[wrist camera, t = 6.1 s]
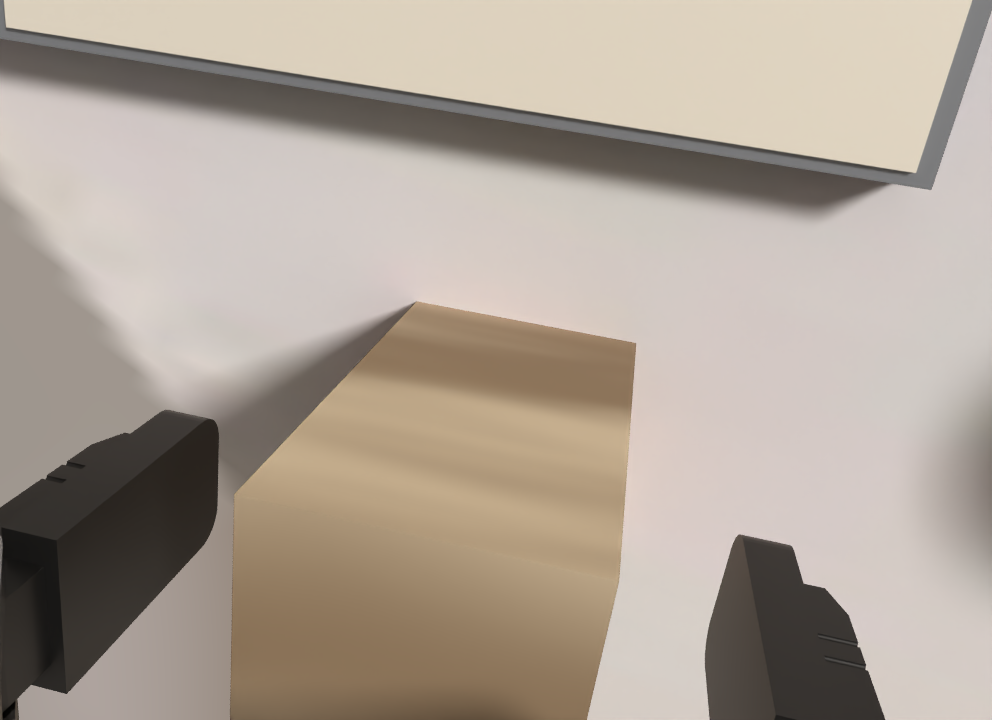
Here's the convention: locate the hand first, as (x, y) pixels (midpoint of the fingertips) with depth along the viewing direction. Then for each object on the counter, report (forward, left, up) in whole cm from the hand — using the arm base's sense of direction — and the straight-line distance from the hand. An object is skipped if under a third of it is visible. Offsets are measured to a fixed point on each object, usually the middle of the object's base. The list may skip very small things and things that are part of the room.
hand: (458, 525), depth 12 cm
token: (0, 0, -3) cm, 3 cm away
